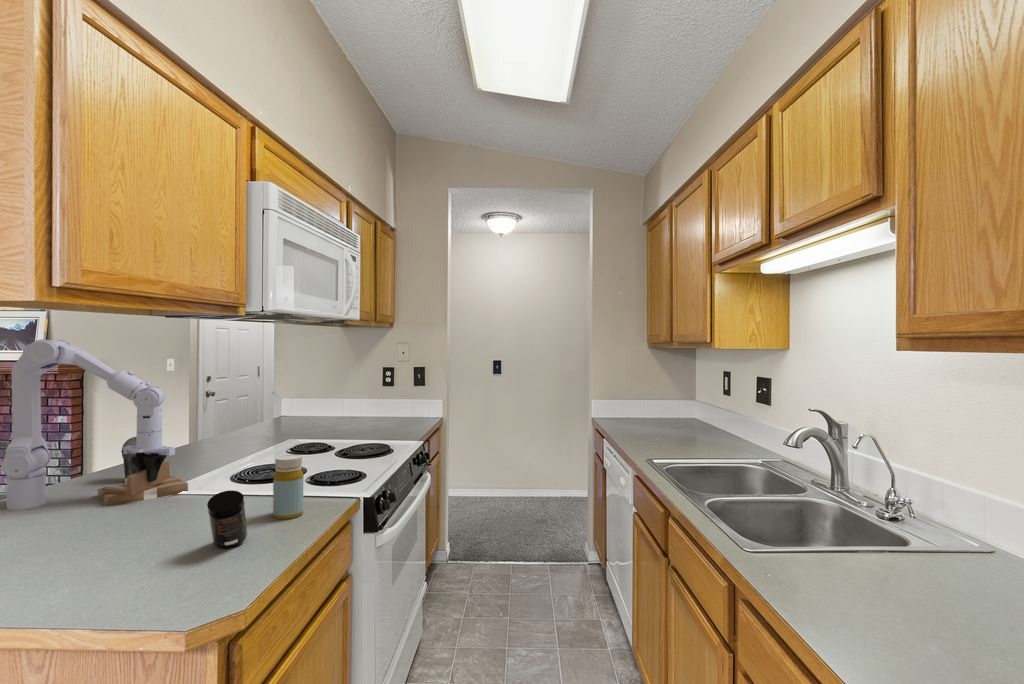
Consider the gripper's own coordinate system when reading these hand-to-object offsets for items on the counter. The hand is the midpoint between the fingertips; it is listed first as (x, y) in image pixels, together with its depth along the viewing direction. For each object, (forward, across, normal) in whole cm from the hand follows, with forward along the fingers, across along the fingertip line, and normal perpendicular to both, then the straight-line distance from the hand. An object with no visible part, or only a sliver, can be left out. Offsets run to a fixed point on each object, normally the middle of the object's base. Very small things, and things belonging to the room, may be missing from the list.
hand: (148, 480), depth 139 cm
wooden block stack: (+6, 0, 0) cm, 6 cm away
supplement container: (+6, +43, -24) cm, 50 cm away
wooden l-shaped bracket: (+2, 0, 0) cm, 2 cm away
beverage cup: (+6, -17, +12) cm, 22 cm away
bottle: (+6, +44, -3) cm, 44 cm away
